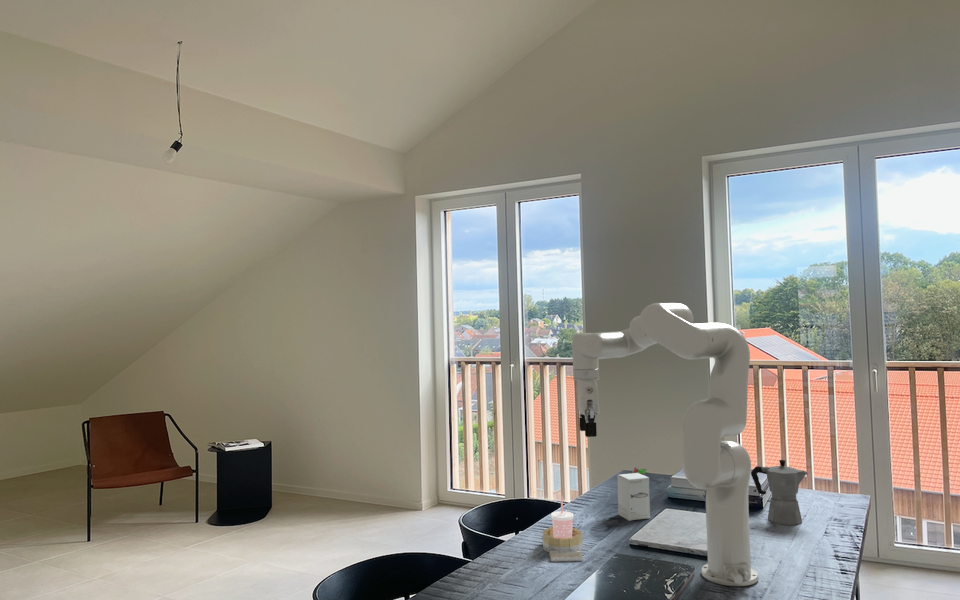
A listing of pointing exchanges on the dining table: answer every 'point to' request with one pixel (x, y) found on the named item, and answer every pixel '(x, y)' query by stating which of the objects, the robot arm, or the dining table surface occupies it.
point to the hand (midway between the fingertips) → (588, 433)
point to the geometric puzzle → (640, 471)
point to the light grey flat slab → (564, 552)
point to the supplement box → (633, 496)
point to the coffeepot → (781, 492)
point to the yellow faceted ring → (562, 542)
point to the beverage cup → (562, 522)
